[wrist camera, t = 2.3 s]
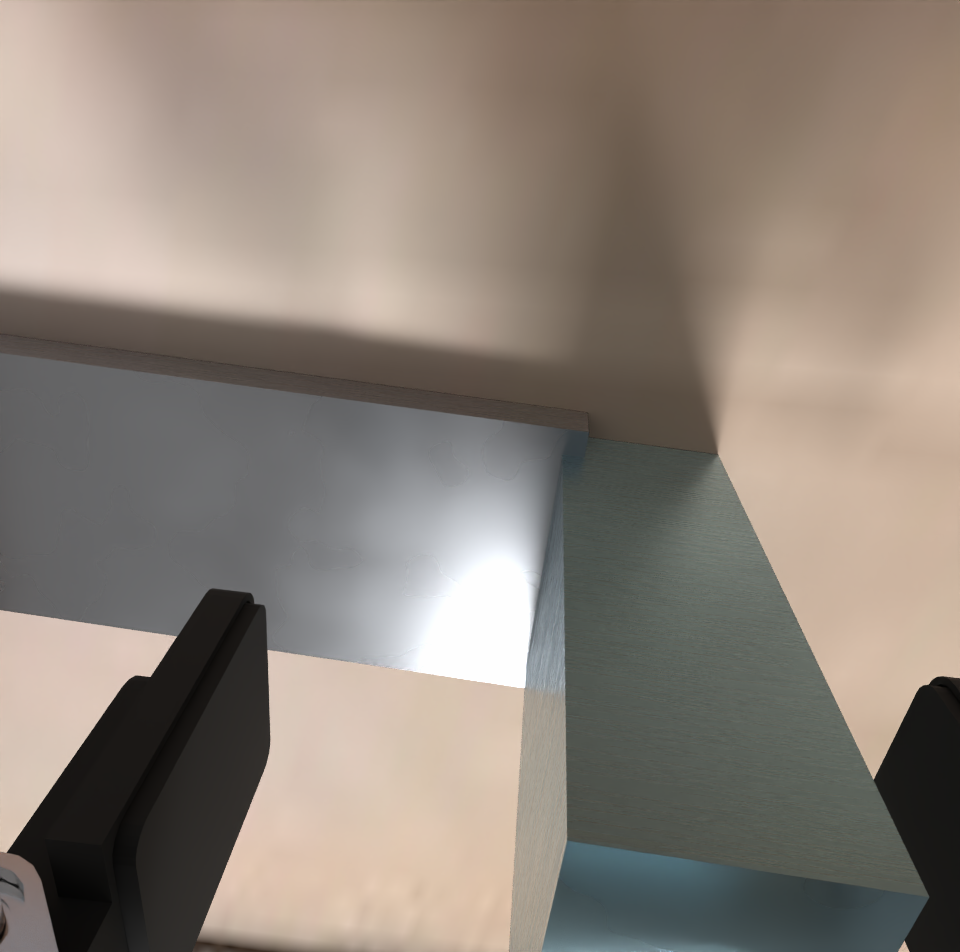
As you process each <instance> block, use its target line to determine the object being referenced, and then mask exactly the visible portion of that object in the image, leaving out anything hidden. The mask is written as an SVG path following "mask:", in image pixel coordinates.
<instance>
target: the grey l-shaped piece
mask: <svg viewBox="0 0 960 952" xmlns="http://www.w3.org/2000/svg"><path fill="white" fill-rule="evenodd" d="M588 436H589V426H588V416H587V412H581V411H574V410H566V409H559V408H551V407H544V406H536V405H529V404H521V403H514V402H506V401H499V400H491V399H484V398H476V397H469V396H461V395H454V394H446V393H439V392H431V391H424V390H416V389H409V388H401V387H394V386H386V385H379V384H371V383H364V382H356V381H349V380H341V379H334V378H326V377H319V376H312V375H304V374H297V373H289V372H282V371H274V370H267V369H259V368H252V367H244V366H237V365H229V364H222V363H214V362H207V361H199V360H192V359H184V358H177V357H169V356H162V355H154V354H147V353H139V352H132V351H124V350H117V349H109V348H102V347H94V346H87V345H79V344H72V343H64V342H57V341H49V340H42V339H34V338H27V337H19V336H12V335H5V334H0V610H4V611H11V612H17V613H24V614H31V615H37V616H44V617H51V618H58V619H64V620H71V621H78V622H85V623H91V624H98V625H105V626H111V627H118V628H125V629H132V630H138V631H145V632H152V633H158V634H165V635H172V636H178V635H179V633H180V632H181V630H182V629H183V627H184V626H185V624H186V623H187V621H188V620H189V618H190V617H191V615H192V614H193V612H194V610H195V609H196V607H197V606H198V604H199V603H200V601H201V600H202V598H203V597H204V595H205V594H206V593H207V592H208V590H209V589H212V588H215V589H223V590H231V591H240V592H248V593H251V594H252V595H253V598H254V604H261V605H264V606H265V608H266V623H267V650H273V651H280V652H286V653H293V654H300V655H306V656H313V657H320V658H327V659H333V660H340V661H347V662H353V663H360V664H367V665H374V666H380V667H387V668H394V669H401V670H407V671H414V672H421V673H427V674H434V675H441V676H448V677H454V678H461V679H468V680H474V681H481V682H488V683H495V684H501V685H508V686H515V687H522V688H525V691H524V708H523V725H522V742H521V758H520V775H519V792H518V809H517V826H516V843H515V860H514V876H513V893H512V910H511V927H510V944H509V952H898V950H899V949H900V947H901V945H902V944H903V942H904V940H905V938H906V937H907V935H908V933H909V931H910V930H911V928H912V926H913V925H914V923H915V921H916V919H917V918H918V916H919V914H920V913H921V911H922V909H923V907H924V906H925V904H926V902H927V900H928V899H929V895H928V893H927V891H926V889H925V887H924V885H923V883H922V881H921V879H920V877H919V874H918V872H917V870H916V868H915V866H914V864H913V862H912V860H911V858H910V856H909V853H908V851H907V849H906V847H905V845H904V843H903V841H902V839H901V837H900V835H899V833H898V830H897V828H896V826H895V824H894V822H893V820H892V818H891V816H890V814H889V812H888V810H887V807H886V805H885V803H884V801H883V799H882V797H881V795H880V793H879V791H878V789H877V786H876V784H875V782H874V780H873V778H872V776H871V774H870V772H869V770H868V768H867V766H866V763H865V761H864V759H863V757H862V755H861V753H860V751H859V749H858V747H857V745H856V743H855V740H854V738H853V736H852V734H851V732H850V730H849V728H848V726H847V724H846V722H845V720H844V717H843V715H842V713H841V711H840V709H839V707H838V705H837V703H836V701H835V699H834V696H833V694H832V692H831V690H830V688H829V686H828V684H827V682H826V680H825V678H824V676H823V673H822V671H821V669H820V667H819V665H818V663H817V661H816V659H815V657H814V655H813V653H812V650H811V648H810V646H809V644H808V642H807V640H806V638H805V636H804V634H803V632H802V629H801V627H800V625H799V623H798V621H797V619H796V617H795V615H794V613H793V611H792V609H791V606H790V604H789V602H788V600H787V598H786V596H785V594H784V592H783V590H782V588H781V586H780V583H779V581H778V579H777V577H776V575H775V573H774V571H773V569H772V567H771V565H770V562H769V560H768V558H767V556H766V554H765V552H764V550H763V548H762V546H761V544H760V542H759V539H758V537H757V535H756V533H755V531H754V529H753V527H752V525H751V523H750V521H749V519H748V516H747V514H746V512H745V510H744V508H743V506H742V504H741V502H740V500H739V498H738V496H737V493H736V491H735V489H734V487H733V485H732V483H731V481H730V479H729V477H728V475H727V472H726V470H725V468H724V466H723V464H722V462H721V460H720V458H719V456H718V455H717V454H709V453H702V452H695V451H687V450H680V449H672V448H665V447H657V446H650V445H643V444H635V443H628V442H620V441H613V440H606V439H598V438H591V437H588Z"/></svg>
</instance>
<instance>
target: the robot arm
mask: <svg viewBox="0 0 960 952" xmlns="http://www.w3.org/2000/svg"><path fill="white" fill-rule="evenodd" d="M269 749H270V717H269V685H268V654H267V623H266V608H265V606H264V605H261V604H254V598H253V595H252V594H251V593H248V592H240V591H231V590H223V589H215V588H212V589H209V590H208V592H207V593H206V594H205V595H204V597H203V598H202V600H201V601H200V603H199V604H198V606H197V607H196V609H195V610H194V612H193V614H192V615H191V617H190V618H189V620H188V621H187V623H186V624H185V626H184V627H183V629H182V630H181V632H180V633H179V635H178V636H177V638H176V639H175V641H174V642H173V644H172V645H171V647H170V648H169V650H168V651H167V653H166V655H165V656H164V658H163V659H162V661H161V662H160V664H159V665H158V667H157V668H156V670H155V671H154V673H153V674H152V676H151V677H145V676H134V677H132V678H131V679H129V680H128V681H127V682H126V683H125V685H124V686H123V687H122V688H121V689H120V691H119V692H118V694H117V695H116V697H115V698H114V700H113V701H112V702H111V704H110V705H109V707H108V708H107V710H106V711H105V712H104V714H103V715H102V717H101V718H100V720H99V721H98V722H97V724H96V725H95V727H94V728H93V730H92V731H91V733H90V734H89V735H88V737H87V738H86V740H85V741H84V743H83V744H82V745H81V747H80V748H79V750H78V751H77V753H76V754H75V756H74V757H73V758H72V760H71V761H70V763H69V764H68V766H67V767H66V768H65V770H64V771H63V773H62V774H61V776H60V777H59V778H58V780H57V781H56V783H55V784H54V786H53V787H52V789H51V790H50V791H49V793H48V794H47V796H46V797H45V799H44V800H43V801H42V803H41V804H40V806H39V807H38V809H37V810H36V811H35V813H34V814H33V816H32V817H31V819H30V820H29V822H28V823H27V824H26V826H25V827H24V829H23V830H22V832H21V833H20V834H19V836H18V837H17V839H16V840H15V842H14V843H13V845H12V846H11V847H10V849H9V850H8V852H7V853H4V852H0V952H192V951H193V948H194V946H195V943H196V941H197V938H198V936H199V933H200V931H201V928H202V926H203V923H204V921H205V918H206V915H207V913H208V910H209V908H210V905H211V903H212V900H213V898H214V895H215V893H216V890H217V888H218V885H219V883H220V880H221V878H222V875H223V873H224V870H225V868H226V865H227V862H228V860H229V857H230V855H231V852H232V850H233V847H234V845H235V842H236V840H237V837H238V835H239V832H240V830H241V827H242V825H243V822H244V820H245V817H246V814H247V812H248V809H249V807H250V804H251V802H252V799H253V797H254V794H255V792H256V789H257V787H258V784H259V782H260V779H261V777H262V774H263V772H264V769H265V766H266V763H267V759H268V755H269ZM874 782H875V784H876V786H877V789H878V791H879V793H880V795H881V797H882V799H883V801H884V803H885V805H886V807H887V810H888V812H889V814H890V816H891V818H892V820H893V822H894V824H895V826H896V828H897V830H898V833H899V835H900V837H901V839H902V841H903V843H904V845H905V847H906V849H907V851H908V853H909V856H910V858H911V860H912V862H913V864H914V866H915V868H916V870H917V872H918V874H919V877H920V879H921V881H922V883H923V885H924V887H925V889H926V891H927V893H928V895H929V899H928V900H927V902H926V904H925V906H924V907H923V909H922V911H921V913H920V914H919V916H918V918H917V919H916V921H915V923H914V925H913V926H912V928H911V930H910V931H909V933H908V935H907V937H906V938H905V943H906V945H907V947H908V949H909V951H910V952H960V678H952V677H944V676H942V677H936V678H935V679H933V680H932V681H931V682H930V684H929V685H923V686H922V687H920V688H919V690H918V691H917V693H916V695H915V697H914V699H913V701H912V703H911V705H910V707H909V709H908V711H907V713H906V715H905V717H904V719H903V721H902V723H901V725H900V727H899V730H898V732H897V734H896V736H895V738H894V740H893V742H892V744H891V746H890V748H889V750H888V752H887V754H886V756H885V758H884V760H883V762H882V764H881V766H880V768H879V770H878V772H877V774H876V776H875V778H874Z"/></svg>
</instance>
